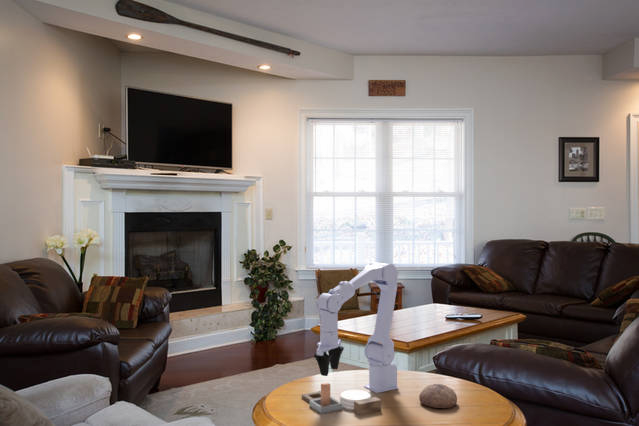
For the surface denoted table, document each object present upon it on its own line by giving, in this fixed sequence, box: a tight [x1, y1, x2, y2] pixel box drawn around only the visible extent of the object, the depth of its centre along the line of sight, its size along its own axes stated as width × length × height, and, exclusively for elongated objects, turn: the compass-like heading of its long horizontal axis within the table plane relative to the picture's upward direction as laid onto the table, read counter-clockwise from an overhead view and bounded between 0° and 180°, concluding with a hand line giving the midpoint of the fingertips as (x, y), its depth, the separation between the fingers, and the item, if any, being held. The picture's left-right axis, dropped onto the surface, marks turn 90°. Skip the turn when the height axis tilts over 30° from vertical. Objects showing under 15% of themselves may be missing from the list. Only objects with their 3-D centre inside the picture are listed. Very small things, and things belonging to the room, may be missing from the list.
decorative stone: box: [418, 383, 458, 409], centre depth 174 cm, size 12×12×6 cm
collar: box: [301, 390, 321, 404], centre depth 178 cm, size 7×7×1 cm
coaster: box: [339, 389, 372, 411], centre depth 173 cm, size 10×10×4 cm
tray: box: [309, 395, 343, 415], centre depth 170 cm, size 8×8×2 cm
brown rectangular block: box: [353, 396, 382, 416], centre depth 167 cm, size 8×3×4 cm, turn 118°
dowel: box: [320, 382, 331, 407], centre depth 170 cm, size 3×3×7 cm
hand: (329, 372), depth 176 cm, fingers open, 7 cm apart
